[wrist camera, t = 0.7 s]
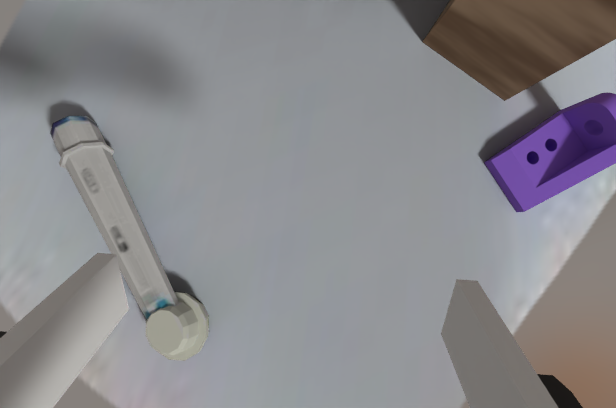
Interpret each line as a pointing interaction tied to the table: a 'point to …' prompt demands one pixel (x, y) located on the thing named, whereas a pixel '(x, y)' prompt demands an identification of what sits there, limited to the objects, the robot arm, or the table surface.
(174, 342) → the toothbrush head
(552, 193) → the bracket
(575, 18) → the stand
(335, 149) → the table surface
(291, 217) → the table surface
